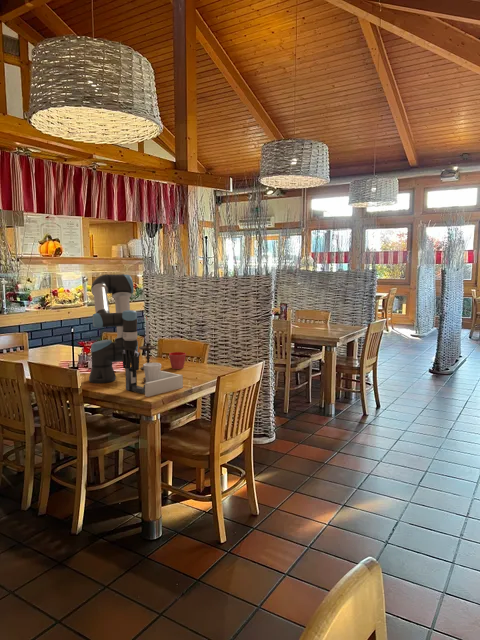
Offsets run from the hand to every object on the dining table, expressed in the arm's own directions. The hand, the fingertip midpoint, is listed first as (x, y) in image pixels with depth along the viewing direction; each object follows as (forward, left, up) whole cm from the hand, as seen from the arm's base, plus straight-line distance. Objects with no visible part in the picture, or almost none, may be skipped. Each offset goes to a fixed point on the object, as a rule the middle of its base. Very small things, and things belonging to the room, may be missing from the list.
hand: (131, 382), depth 256 cm
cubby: (+8, +9, -4) cm, 13 cm away
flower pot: (-23, +55, -5) cm, 60 cm away
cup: (+5, +11, -5) cm, 13 cm away
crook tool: (+4, +8, -4) cm, 10 cm away
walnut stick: (-11, +22, -5) cm, 25 cm away
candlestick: (-36, +41, -5) cm, 55 cm away
